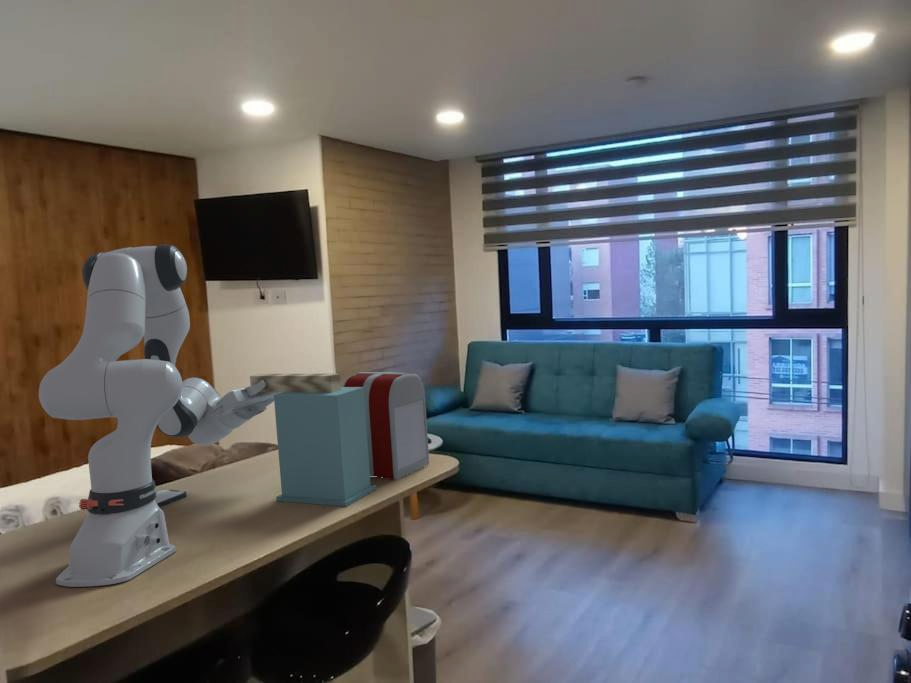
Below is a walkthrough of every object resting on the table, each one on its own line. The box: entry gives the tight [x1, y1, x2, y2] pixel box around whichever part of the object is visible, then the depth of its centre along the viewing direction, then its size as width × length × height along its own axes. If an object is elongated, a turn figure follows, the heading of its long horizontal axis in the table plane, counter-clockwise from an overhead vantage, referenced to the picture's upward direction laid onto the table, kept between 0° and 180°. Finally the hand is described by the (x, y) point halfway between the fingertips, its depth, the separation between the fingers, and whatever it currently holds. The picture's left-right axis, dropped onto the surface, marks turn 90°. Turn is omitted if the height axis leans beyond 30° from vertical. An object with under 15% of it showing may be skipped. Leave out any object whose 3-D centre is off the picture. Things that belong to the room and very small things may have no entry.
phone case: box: [155, 489, 188, 508], centre depth 176 cm, size 9×2×16 cm
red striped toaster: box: [342, 371, 430, 480], centre depth 195 cm, size 16×18×27 cm
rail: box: [249, 373, 342, 392], centre depth 175 cm, size 24×4×4 cm, turn 67°
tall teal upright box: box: [273, 386, 377, 507], centre depth 174 cm, size 20×14×26 cm
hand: (272, 381), depth 178 cm, fingers closed on rail, 4 cm apart
